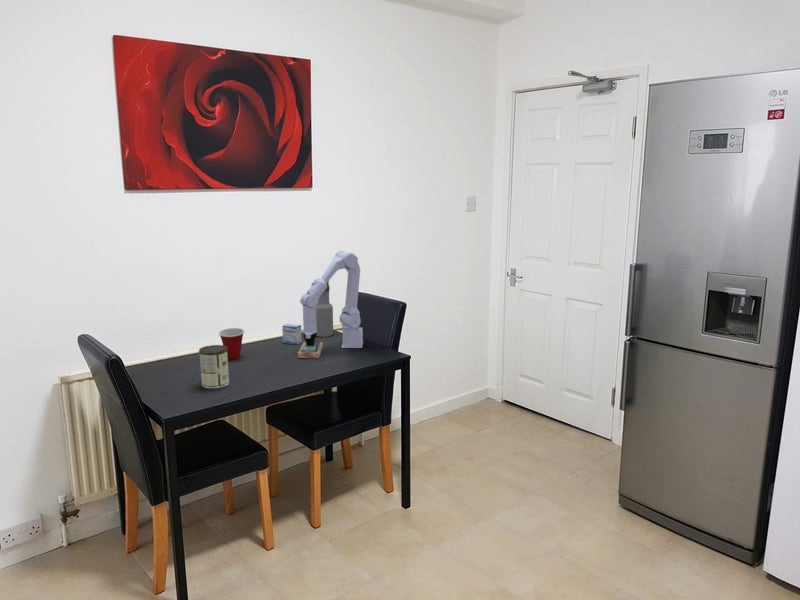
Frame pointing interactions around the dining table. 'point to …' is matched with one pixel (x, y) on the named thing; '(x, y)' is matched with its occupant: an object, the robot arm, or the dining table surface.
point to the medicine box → (291, 334)
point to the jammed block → (309, 349)
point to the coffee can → (214, 366)
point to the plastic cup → (232, 341)
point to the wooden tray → (310, 354)
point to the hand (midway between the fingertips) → (310, 350)
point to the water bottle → (324, 314)
